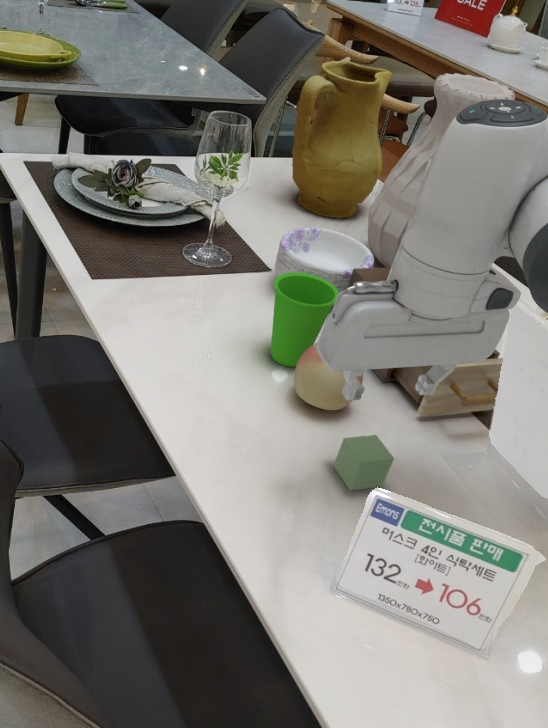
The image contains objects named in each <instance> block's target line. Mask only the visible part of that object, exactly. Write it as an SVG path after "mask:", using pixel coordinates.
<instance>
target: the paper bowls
mask: <svg viewBox="0 0 548 728" xmlns="http://www.w3.org/2000/svg"><path fill="white" fill-rule="evenodd" d="M374 264H375V256H374V254H373V253H372V251H371V250H370V248H369V247H367V246H366V245H365V244H364V243H363V242H362V241H360V240H358V239H356V238H354V237H352V236H350V235H348V234H346V233H343V232H339V231H336V230H333V229H329V228H322V227H312V226H311V227H309V226H307V227H297V228H294V229H291V230H289V231H287V232H286V233H285V234H284V235H282V237H281V239H280V241H279V245H278V250H277V254H276V259H275V264H274V271H275V275H277V277H279V276H280V275H283V274H286V273H306V274H311V275H315V276H318V277H321V278H323V279H325V280H327V281H328V282H330V283H331V284H333V285H334V286H335V287H336V288H337V290H338V292H339V293H340V292H343V291H344V290H345V289H346V288H348V284H349V281H350V278H351V275H352V272H353V269H357V268H374ZM334 304H335V303H334ZM334 304H333V306H332V307H334Z"/></svg>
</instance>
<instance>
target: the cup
mask: <svg viewBox="0 0 548 728" xmlns="http://www.w3.org/2000/svg"><path fill="white" fill-rule="evenodd" d="M273 288H274V290H275V291H274V304H273V317H272V329H271V343H270V354H271V355H270V356H271V359H272V360H273V361H274V362H276V363H277V364H279V365H281V366H283V367H290V368H296V365H297V363H298V361H299V359H300V357H301V356H302V354H303V353H304V352H305V351H306V350H307V349H308V348H309V347H310V346H312V345H314V344H315V342H316V340H317V338H318V336H319V334H320V333H321V331H322V329H323V327H324V325H325V323H326V321H327V319H328V317H329V315H330V313H331V311H332V309H333V307H334V306H333V304H334V303H335V300H336V298H337V296H338V294H339V292H338V290H337V288H336V287H335V286H334V285H333V284H331V283H330V282H328V281H327V280H325V279H323V278H321V277H318V276H315V275H311V274H306V273H286V274H283V275H280V276H277V277H276V278H275V279H274V281H273Z"/></svg>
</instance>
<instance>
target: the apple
mask: <svg viewBox="0 0 548 728" xmlns="http://www.w3.org/2000/svg"><path fill="white" fill-rule="evenodd" d="M317 343H318V342H316V343H314V344H313V345H312V346H310V347H309V348H308V349H307V350H306V351H305V352H304V353H303V354H302V356H301V357H300V359H299V361H298V363H297V365H296V367H295V369H294V374H293V375H294V376H293V382H294V383H293V385H294V389H295V392H296V394H297V396H298V397H300V399H301V400H303V401H304V402H305V403H307V404H308V405H310V406H313V407H315V408H318V409H321V410H323V411H324V410H325V411H339V410H341V409H344V408H346V407H347V406H348V405H350V404H351V403H352V402H354V400H351V401H347V400H346V398H345V397H344V396H343V394H342V390H343V387H344V384H345V381H346V380H345V377H344V374H343V371H332V370H330V369H329V368H328V367H327V365H326V364H325V363H324V362H323V360H322V359H321V357H320V356H319V354H318V352H317ZM356 377H357V379H358V380H359V381H360V384H362V385H363V382H364V372H363V373H362V376H356Z"/></svg>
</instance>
